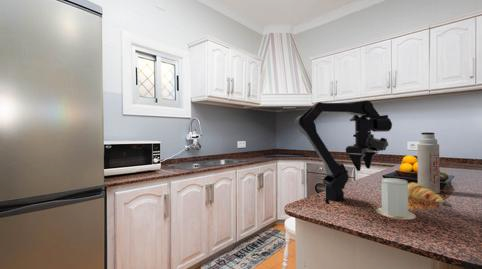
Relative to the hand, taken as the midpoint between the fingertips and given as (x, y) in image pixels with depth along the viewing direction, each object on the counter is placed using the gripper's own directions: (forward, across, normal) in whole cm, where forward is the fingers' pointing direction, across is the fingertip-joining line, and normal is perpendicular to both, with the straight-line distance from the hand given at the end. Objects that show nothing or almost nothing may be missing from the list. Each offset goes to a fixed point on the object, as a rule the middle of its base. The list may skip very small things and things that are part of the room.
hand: (363, 169), depth 91 cm
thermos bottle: (+13, +39, -13) cm, 43 cm away
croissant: (+14, +21, -13) cm, 28 cm away
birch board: (+13, -10, -14) cm, 21 cm away
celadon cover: (+12, -10, -14) cm, 21 cm away
